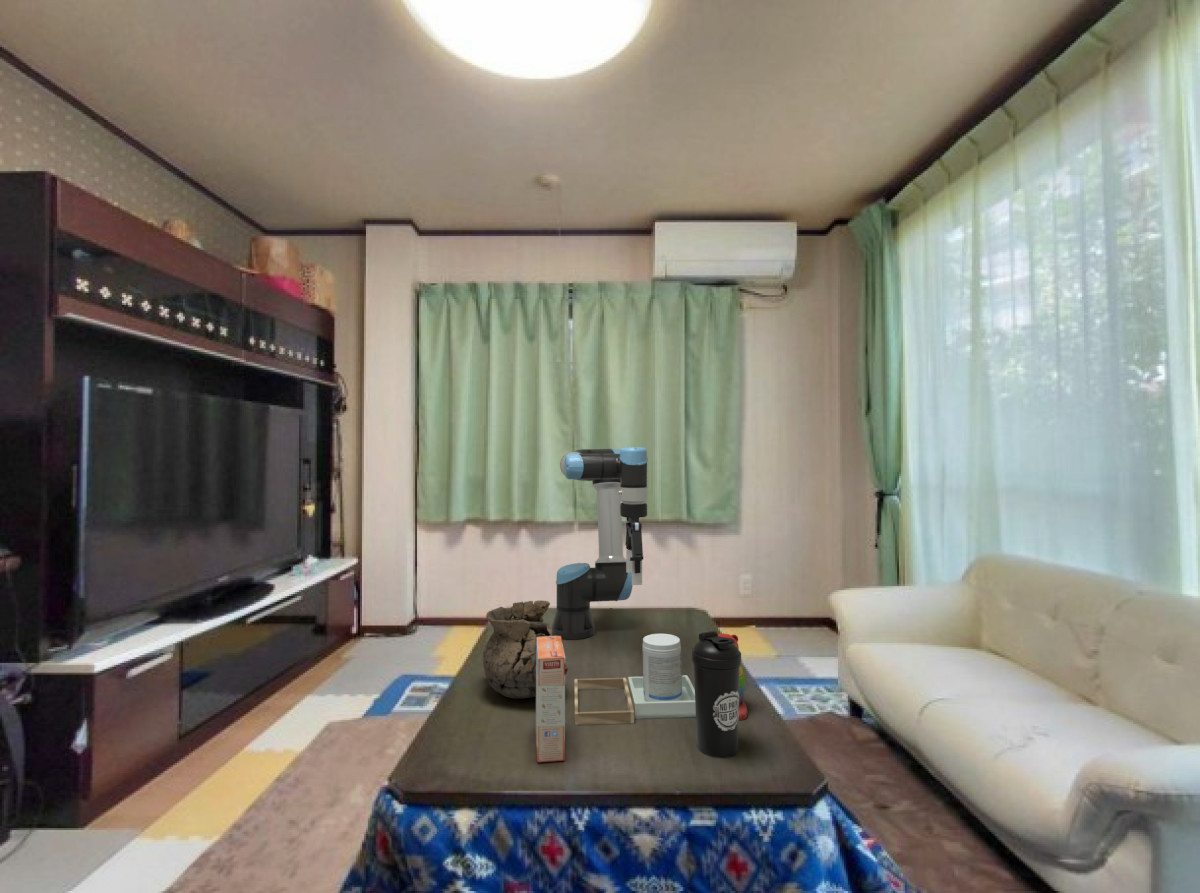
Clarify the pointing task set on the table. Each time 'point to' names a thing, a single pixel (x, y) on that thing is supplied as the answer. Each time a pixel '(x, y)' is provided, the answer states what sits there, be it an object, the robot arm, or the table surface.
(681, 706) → the pale mint square tray
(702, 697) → the water bottle
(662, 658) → the supplement tub
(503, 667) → the clay pot
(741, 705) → the stacking bear
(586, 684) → the oak frame
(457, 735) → the table surface
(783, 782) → the table surface
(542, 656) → the cracker box
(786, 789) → the table surface
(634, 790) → the table surface
